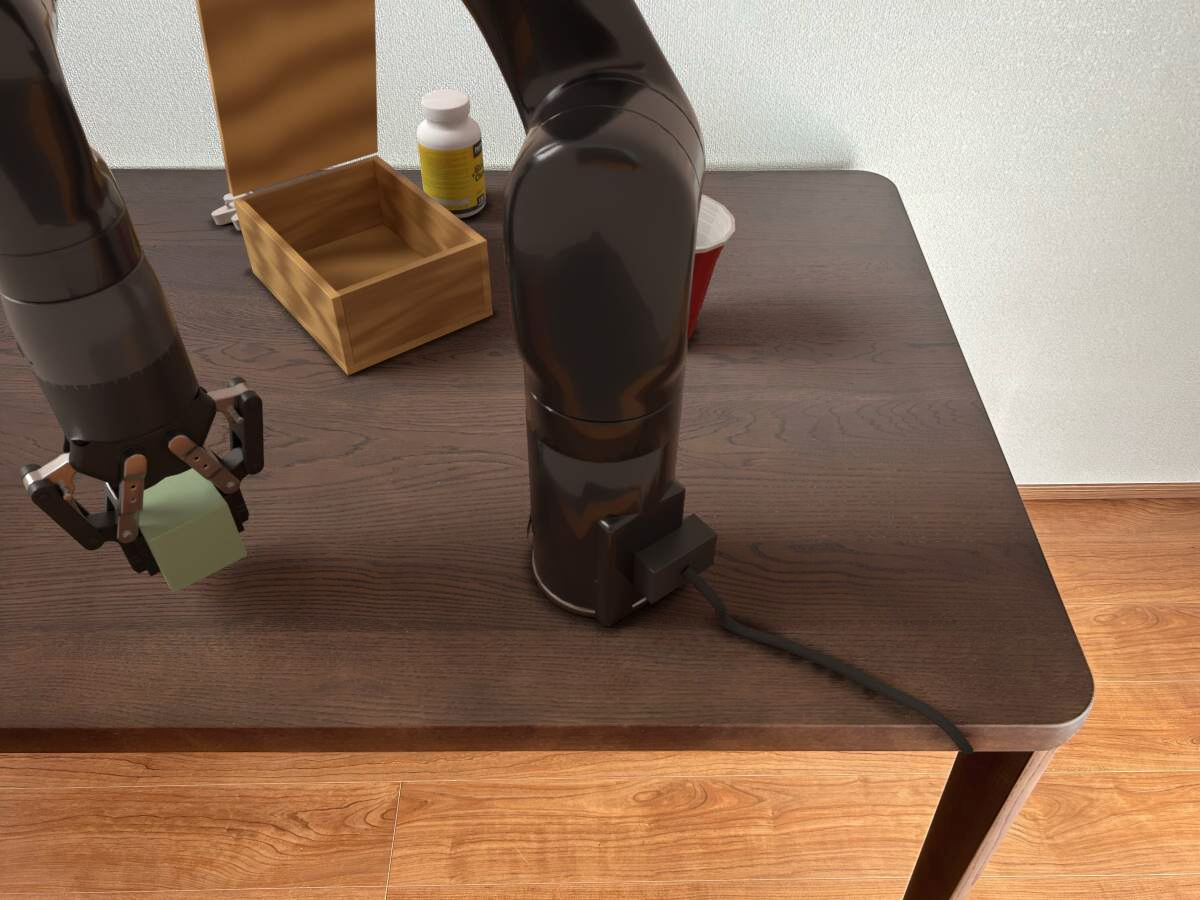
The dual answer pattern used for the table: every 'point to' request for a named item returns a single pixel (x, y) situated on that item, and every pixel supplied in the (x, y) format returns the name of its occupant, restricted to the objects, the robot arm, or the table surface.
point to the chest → (366, 261)
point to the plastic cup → (707, 251)
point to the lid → (290, 85)
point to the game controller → (228, 211)
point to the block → (189, 529)
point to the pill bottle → (451, 153)
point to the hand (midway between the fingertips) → (193, 544)
